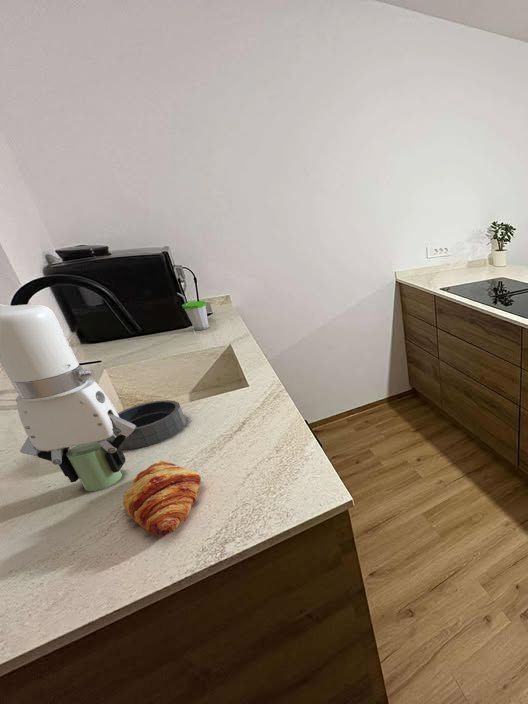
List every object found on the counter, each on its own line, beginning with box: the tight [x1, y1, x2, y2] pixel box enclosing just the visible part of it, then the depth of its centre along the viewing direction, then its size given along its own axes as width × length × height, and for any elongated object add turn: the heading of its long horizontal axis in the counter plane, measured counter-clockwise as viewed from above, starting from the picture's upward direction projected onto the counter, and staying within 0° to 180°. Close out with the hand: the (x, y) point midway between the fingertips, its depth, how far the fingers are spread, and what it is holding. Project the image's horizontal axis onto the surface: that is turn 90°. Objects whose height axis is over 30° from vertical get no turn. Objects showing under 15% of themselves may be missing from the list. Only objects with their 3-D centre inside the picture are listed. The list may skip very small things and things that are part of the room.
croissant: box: [122, 460, 202, 536], centre depth 63 cm, size 21×10×8 cm, turn 42°
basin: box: [112, 399, 187, 450], centre depth 82 cm, size 13×13×5 cm
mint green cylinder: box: [66, 442, 123, 492], centre depth 67 cm, size 5×5×8 cm
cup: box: [176, 292, 210, 331], centre depth 147 cm, size 8×8×15 cm
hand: (98, 471), depth 67 cm, fingers closed on mint green cylinder, 5 cm apart
